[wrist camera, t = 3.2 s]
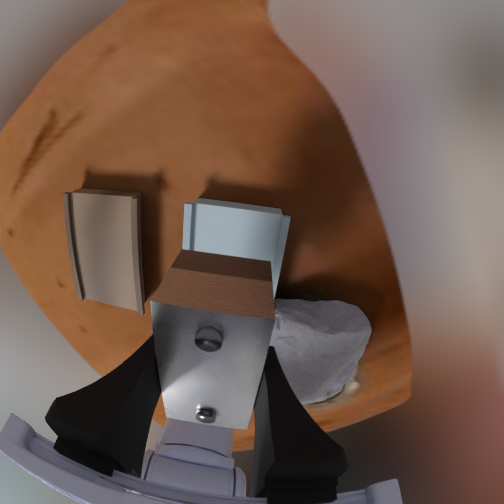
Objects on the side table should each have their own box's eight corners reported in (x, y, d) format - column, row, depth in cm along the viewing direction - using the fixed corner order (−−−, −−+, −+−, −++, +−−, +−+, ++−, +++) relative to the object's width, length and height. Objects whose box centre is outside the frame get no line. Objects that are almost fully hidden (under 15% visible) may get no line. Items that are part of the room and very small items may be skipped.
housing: (249, 370, 17) (246, 433, 12) (182, 360, 16) (165, 421, 12) (270, 261, 13) (275, 324, 9) (182, 249, 13) (147, 305, 9)
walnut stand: (147, 192, 19) (137, 198, 17) (150, 302, 23) (143, 315, 21) (76, 188, 19) (63, 193, 17) (87, 289, 23) (78, 299, 21)
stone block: (363, 290, 24) (261, 291, 22) (388, 322, 20) (274, 332, 18) (327, 370, 30) (245, 378, 28) (341, 401, 25) (252, 414, 23)
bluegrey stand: (288, 209, 19) (290, 217, 18) (266, 320, 23) (266, 334, 22) (191, 197, 19) (184, 203, 17) (187, 309, 23) (182, 322, 22)
